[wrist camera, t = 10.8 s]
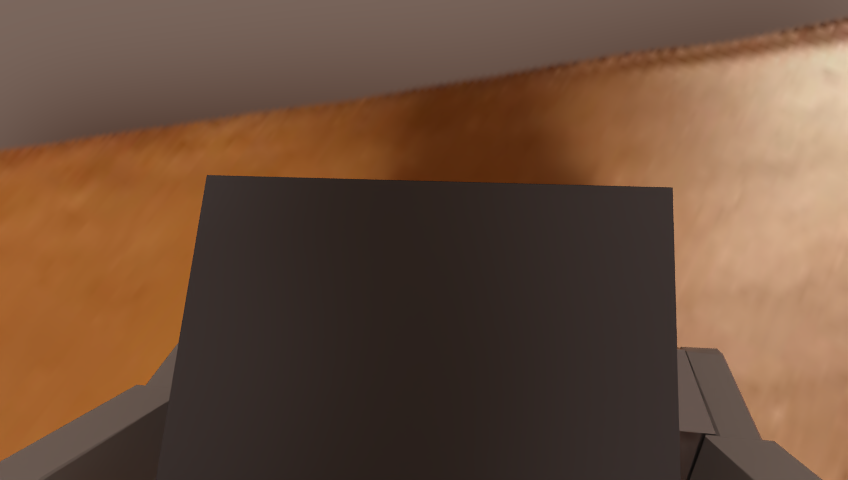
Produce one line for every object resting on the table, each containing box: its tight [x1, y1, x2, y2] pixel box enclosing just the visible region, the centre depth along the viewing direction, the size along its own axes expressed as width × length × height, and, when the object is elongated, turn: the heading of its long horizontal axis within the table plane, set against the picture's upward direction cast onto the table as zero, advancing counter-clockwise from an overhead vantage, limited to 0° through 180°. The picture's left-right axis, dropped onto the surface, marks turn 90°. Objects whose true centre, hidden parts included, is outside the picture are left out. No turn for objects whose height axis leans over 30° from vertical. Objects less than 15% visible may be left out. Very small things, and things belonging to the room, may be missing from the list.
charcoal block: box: [156, 175, 681, 480], centre depth 9 cm, size 5×5×8 cm
